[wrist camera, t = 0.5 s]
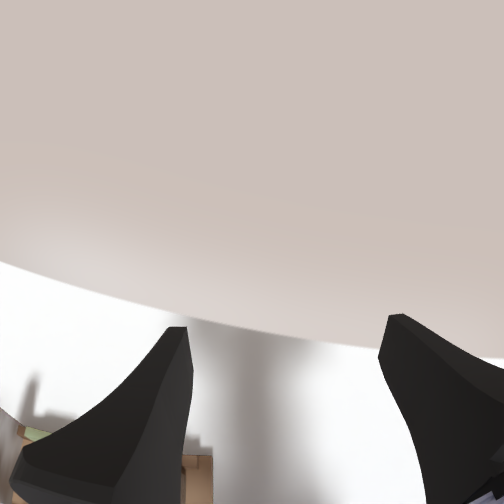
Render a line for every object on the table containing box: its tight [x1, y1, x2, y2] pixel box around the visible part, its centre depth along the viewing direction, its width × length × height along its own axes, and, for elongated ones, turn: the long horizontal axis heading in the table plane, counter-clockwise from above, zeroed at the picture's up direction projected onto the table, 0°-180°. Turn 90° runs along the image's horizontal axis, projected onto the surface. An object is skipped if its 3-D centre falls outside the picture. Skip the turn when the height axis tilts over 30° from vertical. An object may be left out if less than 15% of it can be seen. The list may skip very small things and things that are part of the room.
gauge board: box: [0, 408, 213, 504], centre depth 16 cm, size 11×20×6 cm, turn 93°
